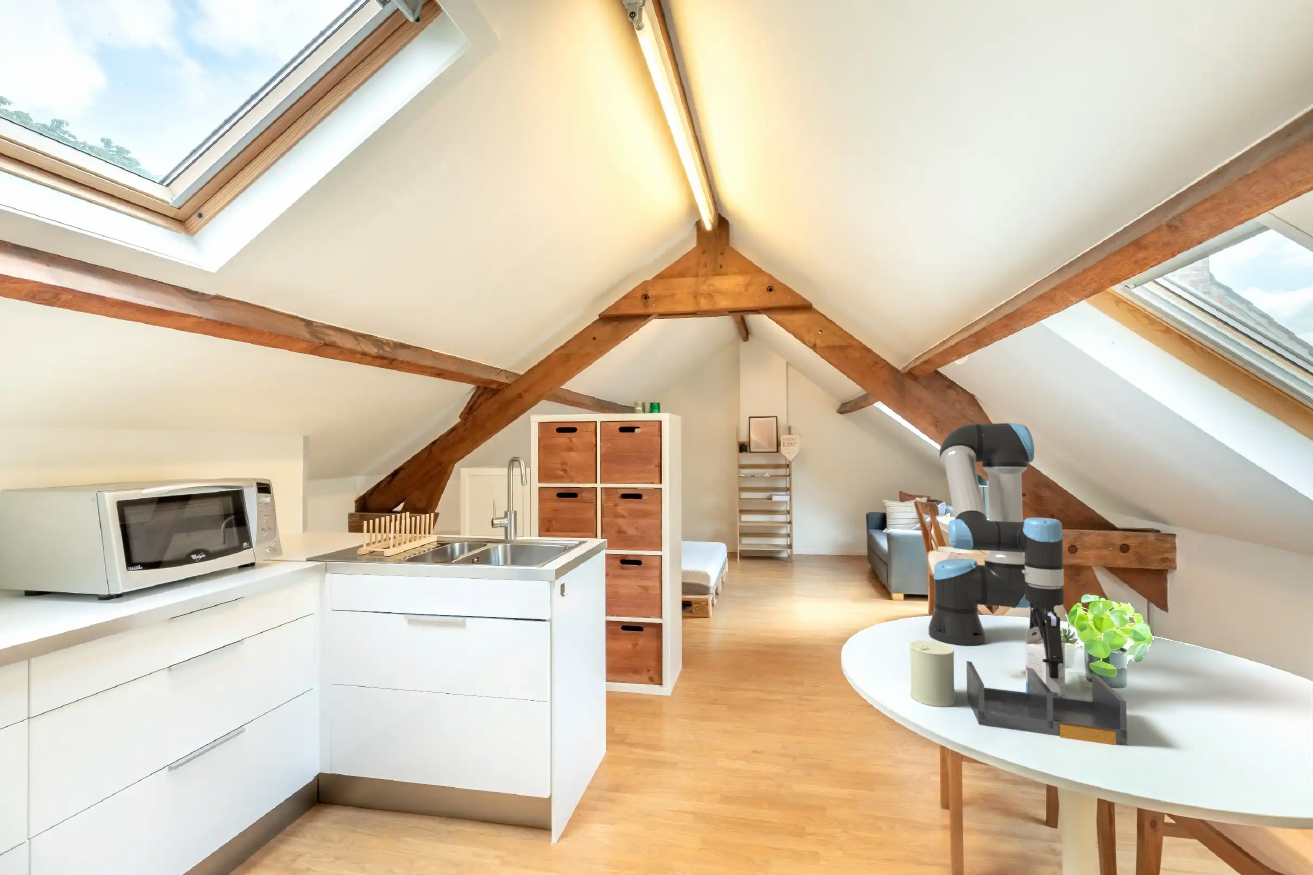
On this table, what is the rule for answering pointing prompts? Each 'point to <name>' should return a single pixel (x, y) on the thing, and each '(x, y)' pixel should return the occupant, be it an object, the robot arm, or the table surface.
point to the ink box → (1041, 658)
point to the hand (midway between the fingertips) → (1045, 682)
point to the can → (932, 673)
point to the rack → (1050, 710)
